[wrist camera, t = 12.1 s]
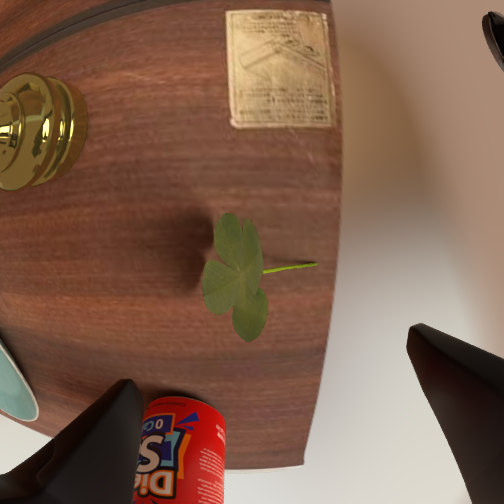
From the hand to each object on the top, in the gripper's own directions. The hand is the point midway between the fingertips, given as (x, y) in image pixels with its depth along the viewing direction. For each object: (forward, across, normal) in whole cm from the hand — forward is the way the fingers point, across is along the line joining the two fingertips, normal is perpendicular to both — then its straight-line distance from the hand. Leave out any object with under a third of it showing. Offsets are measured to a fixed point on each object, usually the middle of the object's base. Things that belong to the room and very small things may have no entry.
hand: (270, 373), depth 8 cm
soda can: (+11, +10, +15) cm, 21 cm away
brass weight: (+11, +12, -12) cm, 20 cm away
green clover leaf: (+11, +1, +1) cm, 11 cm away
